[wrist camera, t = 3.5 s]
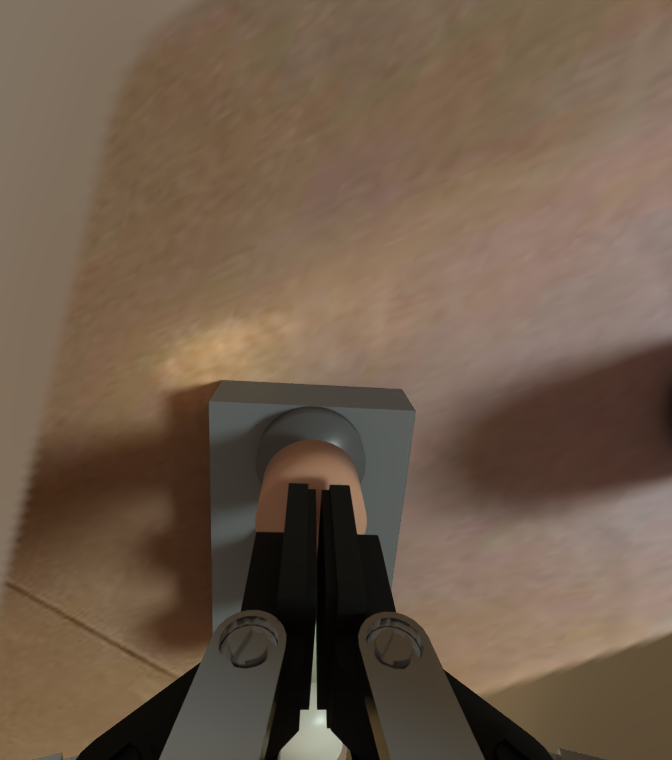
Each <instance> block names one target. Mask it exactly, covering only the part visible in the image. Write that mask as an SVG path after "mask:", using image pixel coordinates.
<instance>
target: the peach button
mask: <svg viewBox="0 0 672 760" xmlns="http://www.w3.org/2000/svg"><path fill="white" fill-rule="evenodd" d="M289 483H302V484H308V489H316V529H317V549H318V536H319V522H320V508H321V494H322V490H329V486H330V485H349V486H350V491H351V497H352V504H353V510H354V517H355V523H356V530H357V534H363V535H364V534H365V531H366V526H367V516H366V510H365V505H364V500H363V496H362V491H361V486H360V481H359V476H358V472H357V469H356V466H355V464H354V462H353V461H352V459H351V458H350V456H349V455H348V454H347V453H346V452H345V451H344V450H342V449H341V448H339V447H338V446H336V445H334V444H332V443H329V442H326V441H321V440H302V441H298V442H294V443H292V444H289V445H287V446H286V447H284V448H282V449H281V450H280V451H278V452H277V453H276V454H275V455H274V456H273V457H272V459H271V460H270V462H269V463H268V465H267V467H266V470H265V473H264V477H263V482H262V487H261V492H260V497H259V502H258V507H257V512H256V518H255V529H256V532H284V527H285V517H286V507H287V496H288V486H289Z"/></svg>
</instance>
